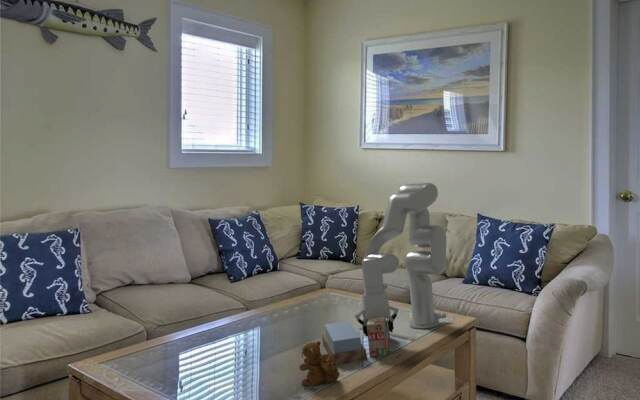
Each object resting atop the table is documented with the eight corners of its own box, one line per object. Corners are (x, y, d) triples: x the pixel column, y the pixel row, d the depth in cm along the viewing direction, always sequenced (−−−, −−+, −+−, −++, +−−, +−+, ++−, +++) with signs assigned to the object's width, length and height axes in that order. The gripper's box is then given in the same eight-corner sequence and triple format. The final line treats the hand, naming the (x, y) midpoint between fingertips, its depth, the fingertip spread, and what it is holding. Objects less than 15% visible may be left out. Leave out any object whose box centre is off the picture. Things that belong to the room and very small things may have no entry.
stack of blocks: (374, 338, 231) (371, 308, 231) (390, 337, 230) (387, 307, 229) (369, 356, 210) (366, 324, 210) (386, 356, 209) (383, 323, 208)
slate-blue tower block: (350, 332, 230) (348, 321, 230) (361, 349, 207) (360, 337, 207) (325, 335, 229) (324, 324, 229) (334, 353, 206) (333, 341, 206)
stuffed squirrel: (312, 374, 199) (308, 336, 198) (347, 378, 192) (343, 339, 191) (296, 384, 190) (292, 346, 190) (333, 389, 183) (328, 349, 182)
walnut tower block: (352, 341, 232) (351, 331, 231) (367, 361, 207) (365, 349, 207) (323, 346, 230) (322, 335, 230) (334, 366, 205) (333, 354, 205)
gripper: (392, 284, 224) (397, 327, 225) (350, 291, 221) (354, 334, 222) (398, 288, 216) (403, 332, 217) (354, 294, 213) (359, 339, 214)
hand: (378, 333), depth 219 cm, fingers open, 9 cm apart
